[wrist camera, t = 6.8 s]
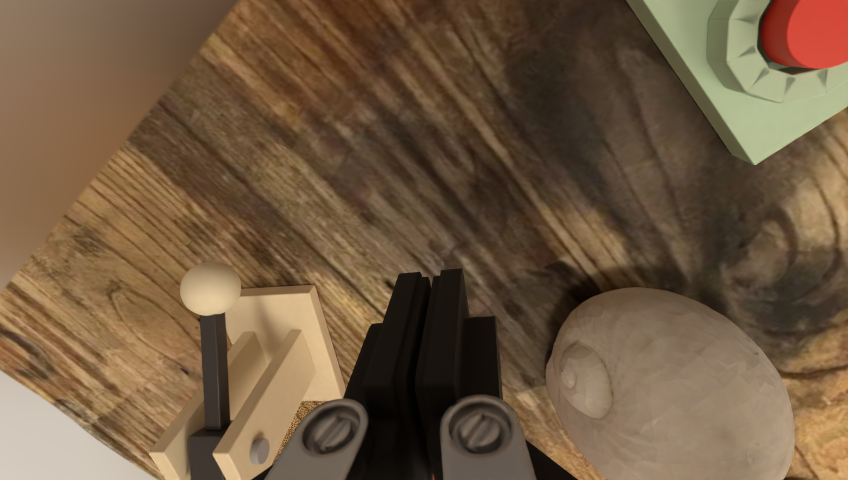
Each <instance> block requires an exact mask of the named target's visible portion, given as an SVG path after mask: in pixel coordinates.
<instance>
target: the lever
mask: <svg viewBox="0 0 848 480" xmlns="http://www.w3.org/2000/svg"><path fill="white" fill-rule="evenodd" d="M240 293H241V281H240V278H239V276H238V274H237V273H236V272H235V270H234V269H232V268H231V267H230V266H228V265H226V264H224V263H221V262H215V261H210V262H204V263H200V264H198V265H196V266H194V267H193V268H191V269H190V270H189V271H188V272H187V273H186V274H185V276H184V277H183V279H182V282H181V285H180V295H181V298H182V301H183V303H184V304H185V305H186V307H187V308H188V309H190V310H191V311H192V312H194V313H196V314H199V315H200V327H201V349H202V371H203V393H204V415H205V427H203V428H202V429H200V430H198V431H197V432H195V433H194V434H192V435H190V436H189V453H190V476H191V480H226V478H225V477H224V475H223V473H222V471H221V469H220V467H219V465H218V464H217V462H216V460H215V458H214V456H213V451H214V450H215V448H216V447H217V445H218V444H219V442H220V440H221V439H222V437H223V436H224V434H225V433H226V431H227V429H228V428H229V426H230V425H231V423H232V422H233V420H230V401H229V380H228V359H227V339H226V318H225V312H226V311H228V310H229V309H230V308H232V307H233V306H234V305H235V303H236V302H237V300H238V299H239V296H240Z"/></svg>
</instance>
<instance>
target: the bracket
mask: <svg viewBox="0 0 848 480" xmlns="http://www.w3.org/2000/svg"><path fill="white" fill-rule="evenodd" d="M225 318H226V331H227V334H228V336H229V338H230V341H231V343H232V345H233V346H232V347H231V349H230V350H229V351H228V353H227V359H228V380H229V401H230V420H233V422H232V423H231V425H230V426H229V428H228V429H227V431H226V433H225V434H224V436H223V437H222V439H221V440H220V442H219V444H218V445H217V447H216V448H215V450H214V451H213V456H214V458H215V460H216V462H217V464H218V465H219V467H220V469H221V471H222V473H223V475H224V477H225V478H226V480H251V479H253V478H254V477H256V476H257V475H259V474H260V473H261V472H263V471H264V470H266V469H267V468H269V467H270V466H271V464H272V462H273V460H274V458H275V456H276V454H277V452H278V450H279V448H280V446H281V443H282V441H283V439H284V437H285V435H286V433H287V431H288V429H289V427H290V425H291V423H292V421H293V419H294V417H295V414H296V412H297V410H298V408H299V406H300V404H301V402H302V401H331V400H334V399H343V397H344V394H345V391H346V388H345V384H344V381H343V378H342V374H341V371H340V368H339V364H338V361H337V358H336V354H335V351H334V347H333V344H332V341H331V337H330V334H329V331H328V327H327V324H326V321H325V317H324V314H323V311H322V307H321V304H320V301H319V297H318V294H317V291H316V287H315V285H299V286H281V287H264V288H246V289H241V293H240V296H239V299H238V300H237V302H236V303H235V305H234V306H233V307H232V308H230V309H229V310H228V311H226V312H225ZM203 427H205V415H204V393H203V384H202V385H201V387H200V388H199V389H198V390H197V392H196V393H195V394H194V396H193V397H192V398H191V399H190V401H189V402H188V403H187V404H186V406H185V407H184V408H183V409H182V411H181V412H180V413H179V415H178V416H177V417H176V418H175V420H174V421H173V422H172V423H171V425H170V426H169V427H168V428H167V430H166V431H165V432H164V434H163V435H162V436H161V437H160V439H159V440H158V441H157V442H156V444H155V445H154V446H153V447H152V449H151V450H150V451H149V454H150V456H151V457H152V459H153V460H154V462H155V464H156V465H157V467H158V468H159V470H160V471H161V473H162V474H163V476H164V478H165V479H166V480H191V476H190V453H189V436H190V435H192V434H194V433H195V432H197V431H198V430H200V429H202V428H203Z"/></svg>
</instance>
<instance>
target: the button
mask: <svg viewBox="0 0 848 480" xmlns="http://www.w3.org/2000/svg"><path fill="white" fill-rule="evenodd" d="M761 44H762V47H763V49H764V51H765V53H766V55H767V56H768V57H769V58H770V59H771V60H773V61H774V62H776V63H778V64H780V65H785V66H793V67H803V68H813V69H825V68H831V67H835V66H838V65H841V64H844V63H846V62H848V0H774V1H773V2H772V4H771V5H770V7H769V8H768V10H767V12H766V14H765V17H764V19H763V22H762V26H761Z"/></svg>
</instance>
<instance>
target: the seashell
mask: <svg viewBox="0 0 848 480" xmlns="http://www.w3.org/2000/svg"><path fill="white" fill-rule="evenodd" d="M545 379H546V385H547V388H548V392H549V395H550V398H551V401H552V403H553V406H554V408H555V411H556V413H557V415H558V417H559V419H560V421H561V423H562V425H563V427H564V428H565V430H566V432H567V433H568V435H569V437H570V439H571V440H572V442H573V443H574V445H575V446H576V447H577V449H578V450H579V452H580V453H581V454H582V455H583V456H584V458H585V459H586V460H587V461H588V462H589V463H590V464H591V465H592V466H593V467H594V468H595V469H596V470H597V471H598V472H599V473H600V474H601V475H603V476H604V477H605V478H606V479H608V480H783V479H784V478H785V476H786V474H787V473H788V470H789V467H790V464H791V461H792V458H793V451H794V445H795V432H794V421H793V414H792V409H791V404H790V400H789V396H788V393H787V390H786V388H785V385H784V383H783V381H782V379H781V377H780V375H779V373H778V372H777V370H776V368H775V367H774V366H773V364H772V363H771V362H770V361H769V359H768V358H767V357H766V355H765V354H764V352H763V351H762V350H761V349H760V348H759V347H758V346H757V345H756V344H755V342H753V341H752V340H751V339H750V338H749V337H748V336H747V335H746V334H745V333H744V332H743V331H742V330H741V329H740V328H739V327H737V326H736V325H735V324H734V323H732V322H731V321H730V320H729V319H728V318H726V317H725V316H723V315H721V314H719V313H718V312H716V311H714V310H712V309H711V308H709V307H707V306H705V305H703V304H701V303H699V302H697V301H695V300H693V299H690V298H687V297H684V296H682V295H679V294H676V293H672V292H669V291H665V290H659V289H652V288H644V287H630V288H623V289H617V290H612V291H608V292H605V293H602V294H599V295H596V296H593V297H591V298H589V299H588V300H586V301H584V302H583V303H581V304H580V305H579V306H578V307H577V308H575V309H574V310H573V311H572V312H571V313H570V315H569V316H568V317H567V319H566V320H565V322H564V323H563V325H562V326H561V328H560V330H559V332H558V335H557V338H556V341H555V343H554V346H553V351H552V355H551V357H550V359H549V361H548V363H547V365H546V378H545Z"/></svg>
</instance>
